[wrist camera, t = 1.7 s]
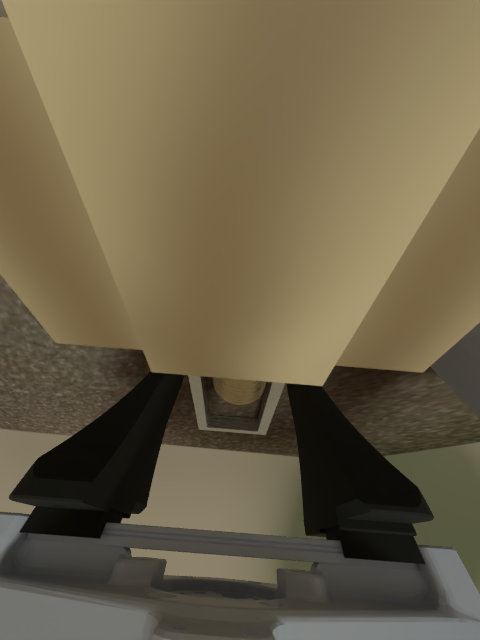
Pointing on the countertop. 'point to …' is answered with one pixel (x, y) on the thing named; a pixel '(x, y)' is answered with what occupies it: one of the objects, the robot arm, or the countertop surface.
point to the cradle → (229, 422)
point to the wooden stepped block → (244, 180)
